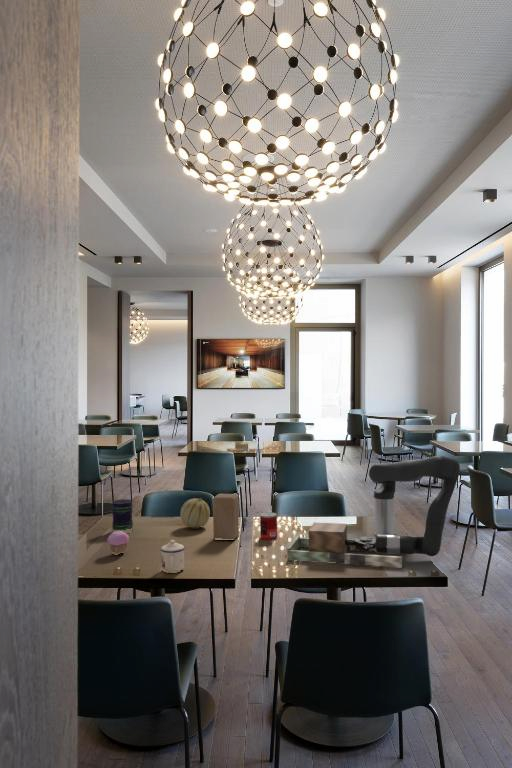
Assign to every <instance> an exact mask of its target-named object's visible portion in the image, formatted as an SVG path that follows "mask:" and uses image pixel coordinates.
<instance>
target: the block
mask: <svg viewBox="0 0 512 768" xmlns="http://www.w3.org/2000/svg"><path fill="white" fill-rule="evenodd" d="M212 521H213V522H212V524H213V525H212V526H213V539H214V538H222V539H235V538H236V537H237V536H238V537H239V534H240V531H239V530H240V528H239V526H240V523H239V495H238V494H237V493H218V494H217V495H215V496H213V498H212ZM238 537H237V538H238ZM237 538H236V539H237ZM236 539H235V540H236Z"/></svg>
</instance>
